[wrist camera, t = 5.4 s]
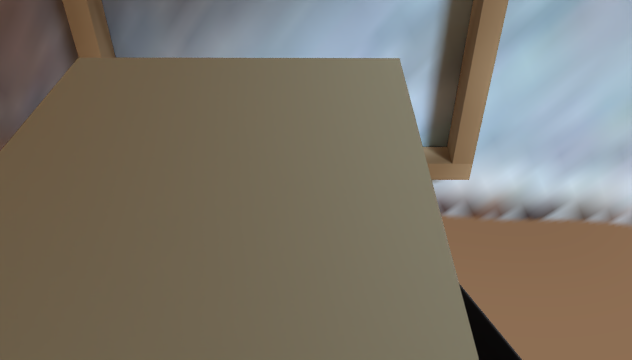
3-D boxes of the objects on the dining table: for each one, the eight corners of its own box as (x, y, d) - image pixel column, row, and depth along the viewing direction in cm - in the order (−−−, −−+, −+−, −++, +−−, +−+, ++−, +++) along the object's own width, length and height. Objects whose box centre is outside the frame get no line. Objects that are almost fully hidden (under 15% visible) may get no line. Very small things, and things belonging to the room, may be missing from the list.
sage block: (399, 58, 8) (554, 642, 3) (377, 277, 11) (429, 762, 6) (77, 57, 8) (-401, 630, 3) (142, 275, 11) (-27, 756, 6)
